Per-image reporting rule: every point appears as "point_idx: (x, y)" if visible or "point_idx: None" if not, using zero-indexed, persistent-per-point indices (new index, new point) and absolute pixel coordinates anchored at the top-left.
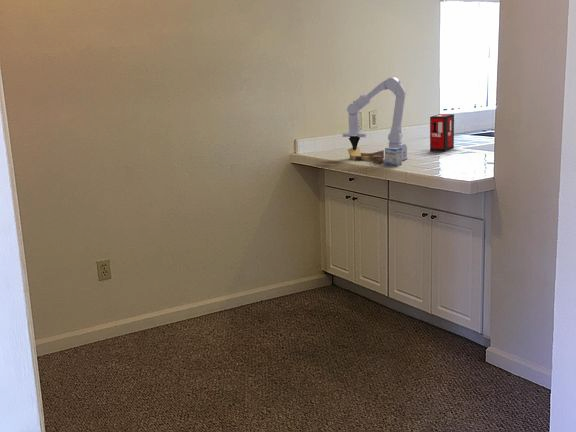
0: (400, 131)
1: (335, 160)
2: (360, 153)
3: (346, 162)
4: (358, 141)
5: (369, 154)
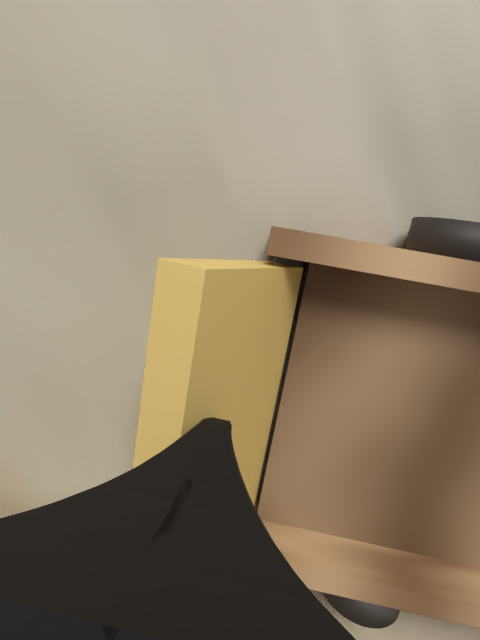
0: None
1: (17, 480)
2: (278, 284)
3: None
4: (279, 553)
5: (469, 289)
